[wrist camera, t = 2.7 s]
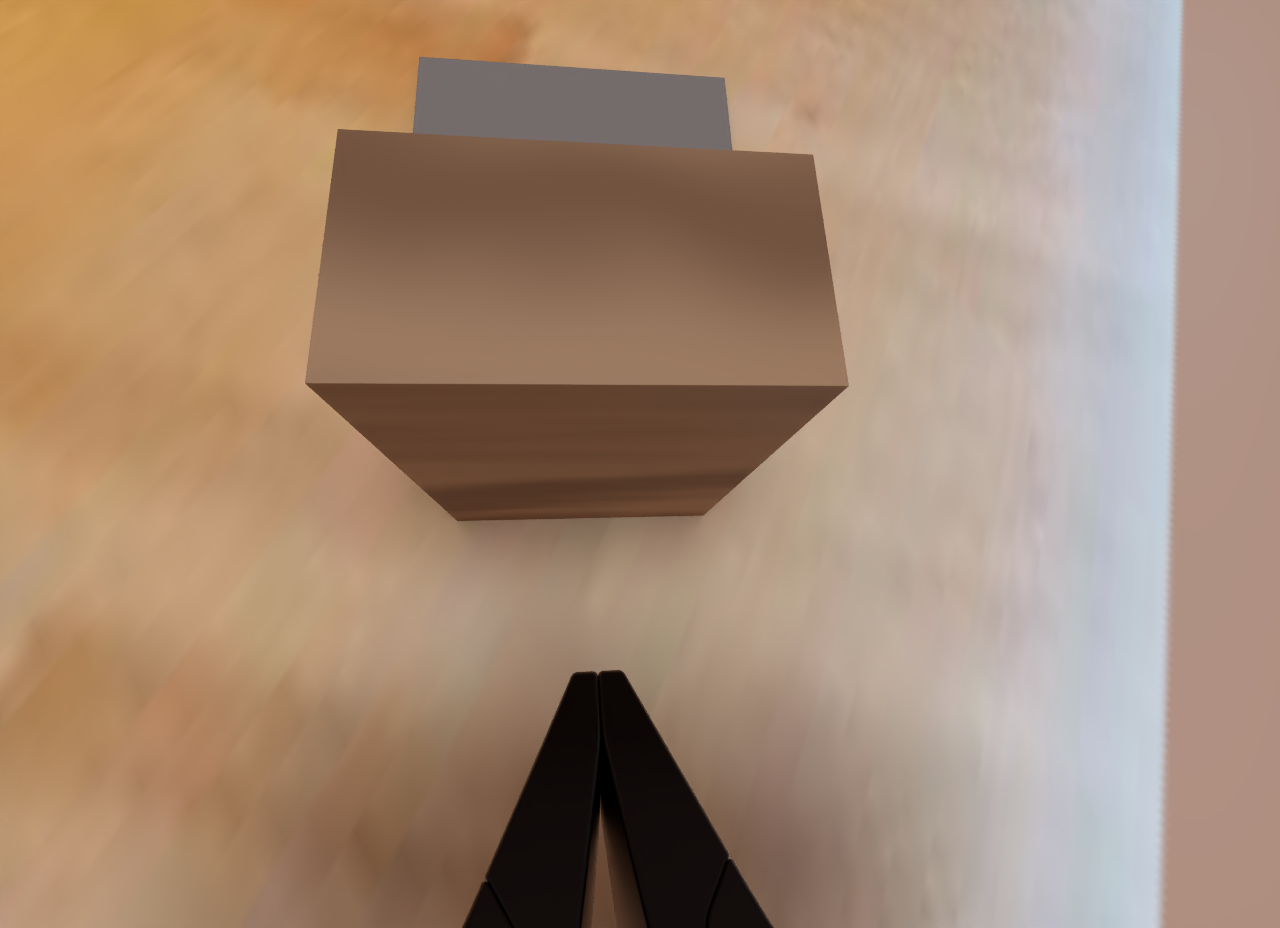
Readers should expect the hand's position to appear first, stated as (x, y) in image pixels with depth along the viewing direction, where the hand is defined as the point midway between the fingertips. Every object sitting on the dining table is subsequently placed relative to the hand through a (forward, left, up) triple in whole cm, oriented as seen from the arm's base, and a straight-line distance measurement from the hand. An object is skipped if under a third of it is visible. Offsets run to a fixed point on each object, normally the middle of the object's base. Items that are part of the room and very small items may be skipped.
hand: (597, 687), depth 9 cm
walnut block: (+7, 0, -11) cm, 13 cm away
